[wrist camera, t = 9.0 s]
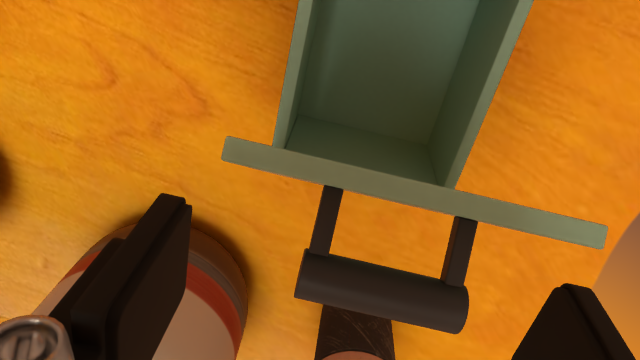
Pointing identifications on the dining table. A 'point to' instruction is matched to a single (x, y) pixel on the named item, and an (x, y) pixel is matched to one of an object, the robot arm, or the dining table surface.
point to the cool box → (395, 81)
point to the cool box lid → (384, 282)
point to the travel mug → (353, 336)
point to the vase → (188, 301)
